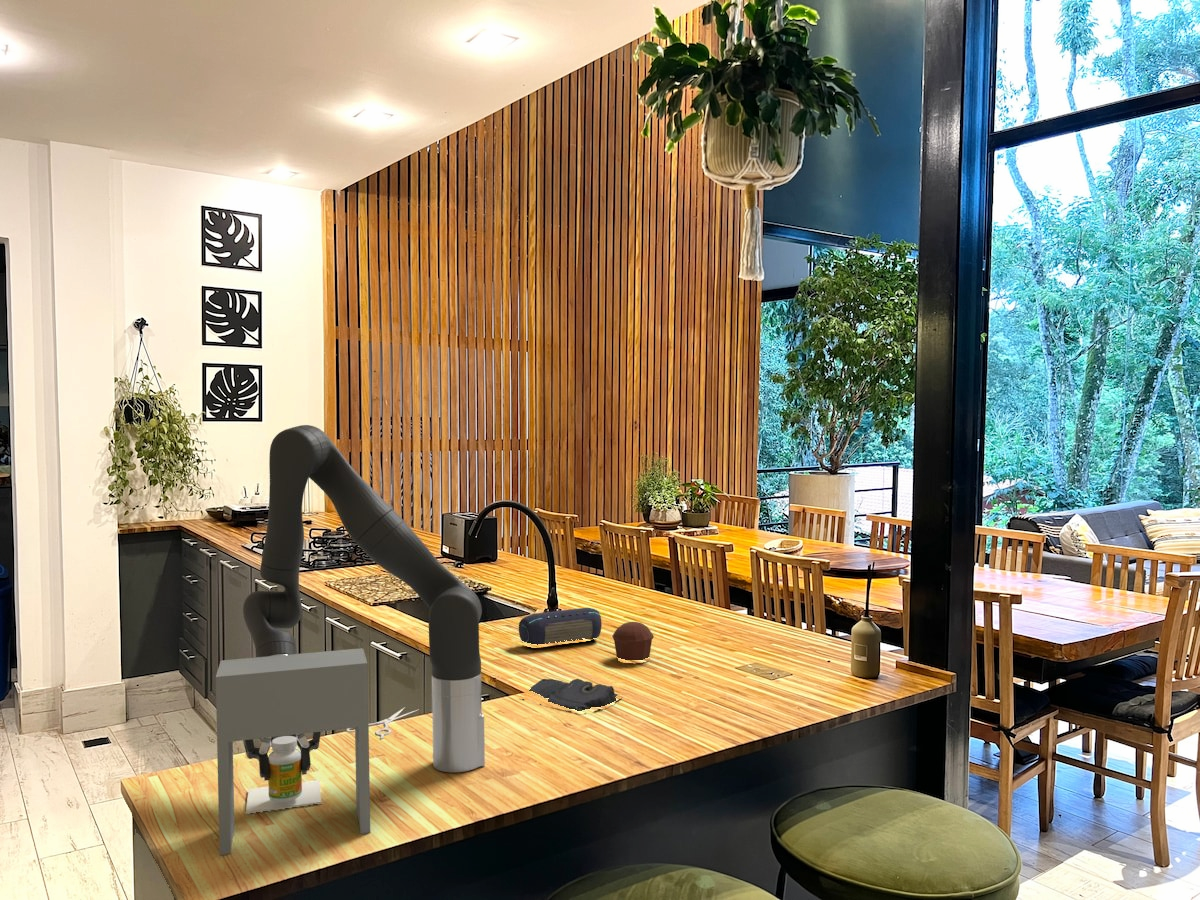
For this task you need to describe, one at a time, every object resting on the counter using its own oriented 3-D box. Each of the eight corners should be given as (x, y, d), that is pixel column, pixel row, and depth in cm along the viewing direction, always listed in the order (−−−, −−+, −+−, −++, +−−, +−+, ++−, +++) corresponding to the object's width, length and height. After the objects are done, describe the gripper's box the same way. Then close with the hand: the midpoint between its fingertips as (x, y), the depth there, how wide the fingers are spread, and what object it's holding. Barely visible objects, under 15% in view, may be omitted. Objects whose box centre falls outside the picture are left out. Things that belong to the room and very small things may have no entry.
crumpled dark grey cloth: (555, 686, 223) (554, 667, 223) (627, 701, 210) (627, 681, 210) (513, 701, 211) (512, 681, 211) (587, 719, 198) (587, 697, 198)
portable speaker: (529, 654, 253) (528, 618, 252) (515, 646, 262) (515, 612, 261) (608, 643, 264) (607, 609, 264) (592, 636, 273) (592, 603, 273)
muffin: (646, 667, 238) (646, 629, 238) (606, 663, 241) (606, 626, 241) (658, 655, 249) (658, 620, 249) (620, 653, 253) (620, 617, 252)
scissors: (339, 732, 188) (393, 703, 207) (339, 736, 189) (393, 707, 207) (382, 738, 185) (433, 708, 203) (382, 741, 185) (433, 711, 203)
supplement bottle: (278, 805, 150) (277, 747, 149) (262, 796, 153) (261, 740, 153) (308, 795, 154) (307, 739, 153) (291, 786, 157) (290, 731, 157)
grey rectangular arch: (365, 804, 153) (362, 646, 152) (370, 832, 142) (367, 663, 141) (225, 824, 146) (221, 658, 145) (219, 855, 135) (215, 676, 134)
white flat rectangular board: (319, 782, 163) (319, 779, 163) (321, 804, 153) (321, 801, 153) (248, 791, 159) (248, 789, 159) (245, 814, 149) (245, 812, 149)
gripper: (236, 680, 157) (240, 772, 146) (321, 670, 163) (332, 758, 152) (235, 701, 162) (239, 792, 151) (318, 691, 168) (328, 778, 157)
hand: (286, 775), depth 152 cm, fingers closed on supplement bottle, 5 cm apart
